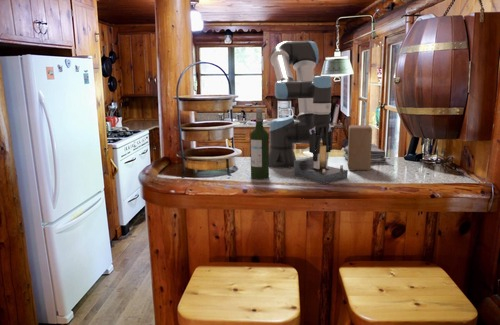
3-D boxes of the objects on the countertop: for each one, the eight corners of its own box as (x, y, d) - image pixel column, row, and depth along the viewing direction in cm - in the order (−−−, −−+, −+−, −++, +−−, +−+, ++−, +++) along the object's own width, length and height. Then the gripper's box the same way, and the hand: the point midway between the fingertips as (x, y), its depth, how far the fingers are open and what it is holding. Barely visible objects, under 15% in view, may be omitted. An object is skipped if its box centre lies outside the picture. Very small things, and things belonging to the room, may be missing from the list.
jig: (294, 175, 176) (294, 160, 174) (316, 171, 184) (316, 156, 182) (324, 183, 161) (325, 167, 160) (347, 178, 170) (347, 162, 168)
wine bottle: (270, 175, 177) (270, 107, 171) (266, 179, 170) (266, 109, 163) (253, 174, 179) (252, 107, 173) (249, 178, 171) (247, 109, 165)
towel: (342, 158, 212) (342, 144, 211) (375, 157, 214) (375, 143, 213) (352, 164, 197) (353, 149, 196) (387, 163, 199) (388, 147, 198)
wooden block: (370, 171, 182) (372, 127, 178) (348, 170, 184) (349, 127, 180) (368, 166, 192) (370, 125, 188) (347, 165, 194) (348, 124, 190)
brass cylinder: (313, 172, 173) (313, 145, 170) (320, 171, 175) (320, 144, 173) (320, 174, 169) (321, 146, 167) (327, 172, 172) (328, 145, 169)
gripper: (313, 115, 159) (312, 172, 164) (342, 112, 169) (340, 166, 174) (300, 114, 165) (299, 169, 170) (329, 111, 175) (327, 163, 180)
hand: (320, 167), depth 172 cm, fingers closed on brass cylinder, 4 cm apart
